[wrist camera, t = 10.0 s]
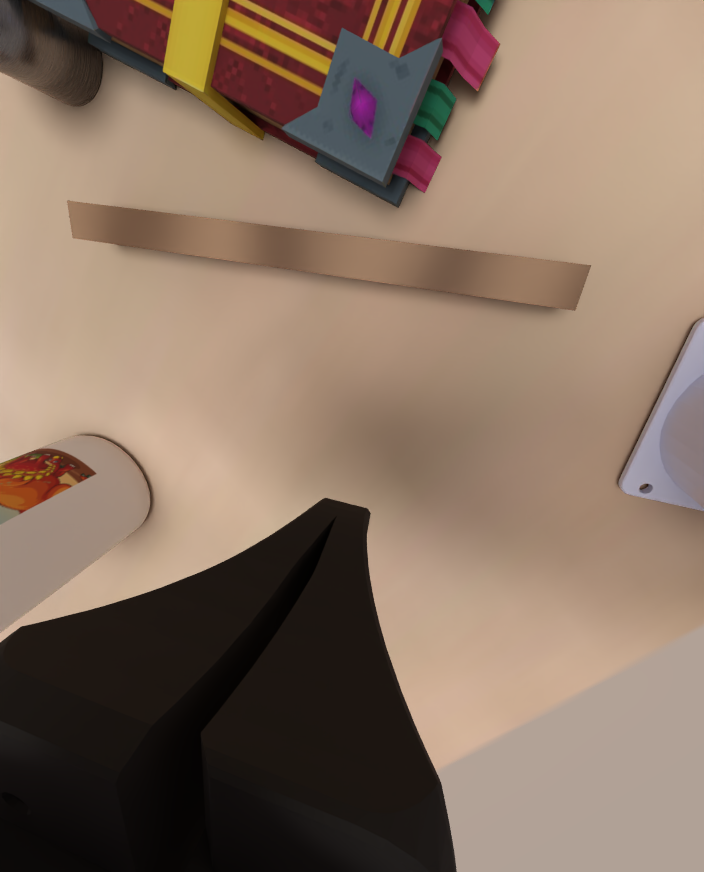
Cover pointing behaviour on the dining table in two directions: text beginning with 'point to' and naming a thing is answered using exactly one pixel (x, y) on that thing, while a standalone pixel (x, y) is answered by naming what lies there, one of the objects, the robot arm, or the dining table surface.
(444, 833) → the robot arm
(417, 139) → the decorative book
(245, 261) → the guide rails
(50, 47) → the boss posts
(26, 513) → the milk bottle
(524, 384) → the dining table surface
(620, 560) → the dining table surface
